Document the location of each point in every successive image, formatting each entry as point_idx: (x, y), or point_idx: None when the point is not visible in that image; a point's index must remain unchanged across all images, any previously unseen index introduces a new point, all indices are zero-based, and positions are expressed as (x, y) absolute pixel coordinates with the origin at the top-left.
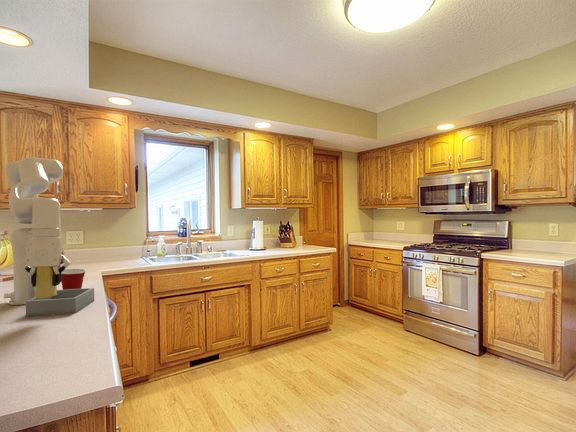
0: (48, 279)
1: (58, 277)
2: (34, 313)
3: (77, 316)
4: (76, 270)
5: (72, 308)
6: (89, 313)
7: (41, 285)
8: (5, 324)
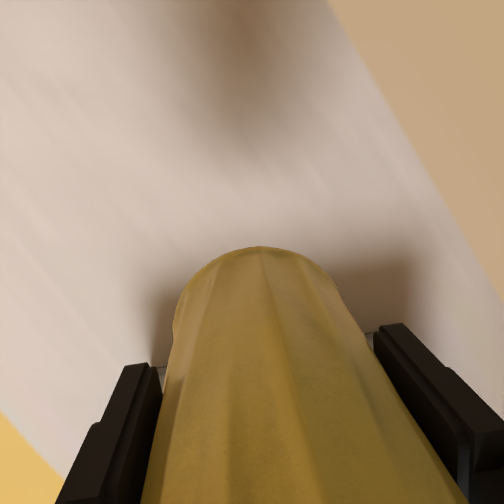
0: (185, 390)
1: (71, 483)
2: (369, 341)
3: (88, 304)
4: None
5: (163, 384)
6: (52, 356)
7: (265, 304)
8: (435, 196)
